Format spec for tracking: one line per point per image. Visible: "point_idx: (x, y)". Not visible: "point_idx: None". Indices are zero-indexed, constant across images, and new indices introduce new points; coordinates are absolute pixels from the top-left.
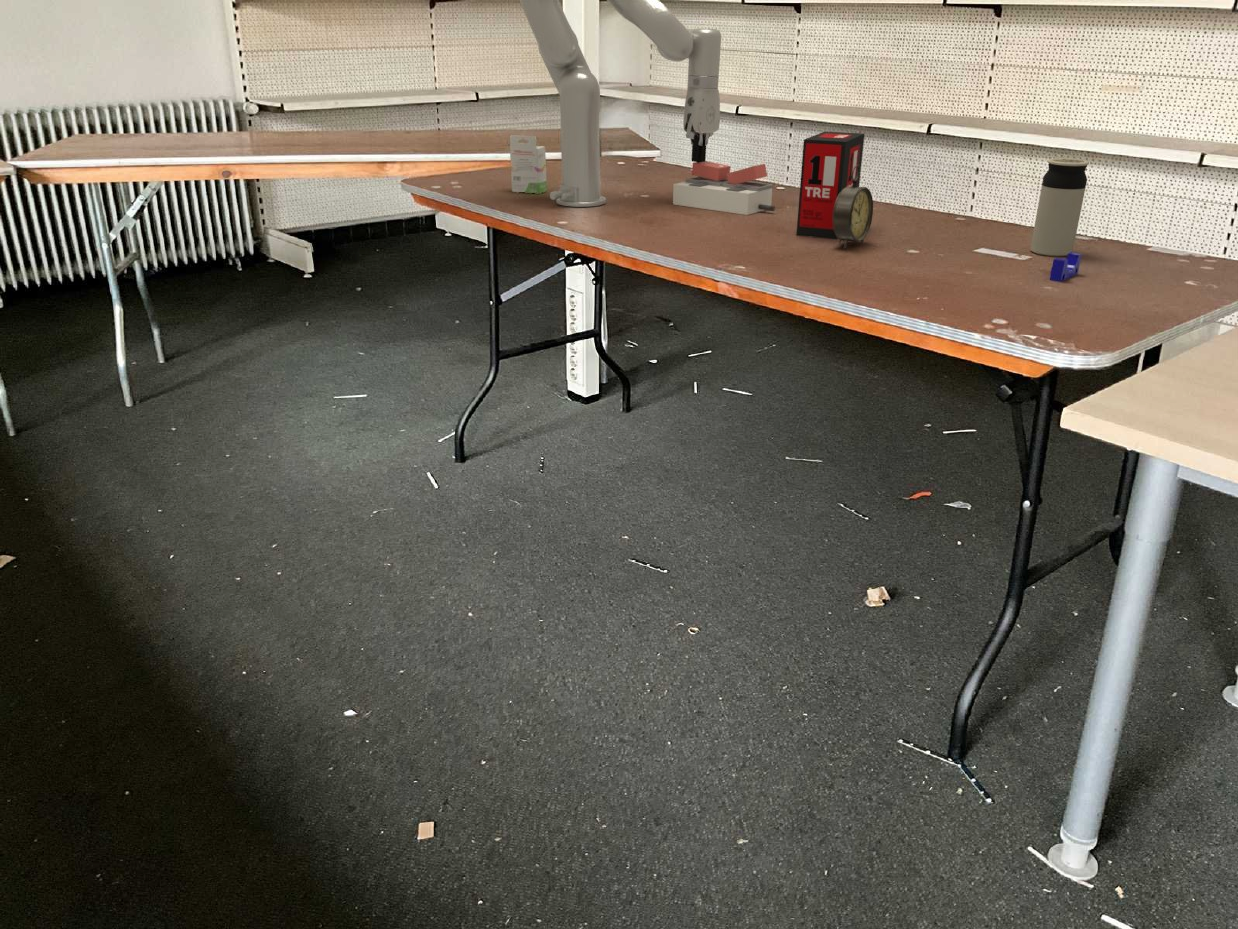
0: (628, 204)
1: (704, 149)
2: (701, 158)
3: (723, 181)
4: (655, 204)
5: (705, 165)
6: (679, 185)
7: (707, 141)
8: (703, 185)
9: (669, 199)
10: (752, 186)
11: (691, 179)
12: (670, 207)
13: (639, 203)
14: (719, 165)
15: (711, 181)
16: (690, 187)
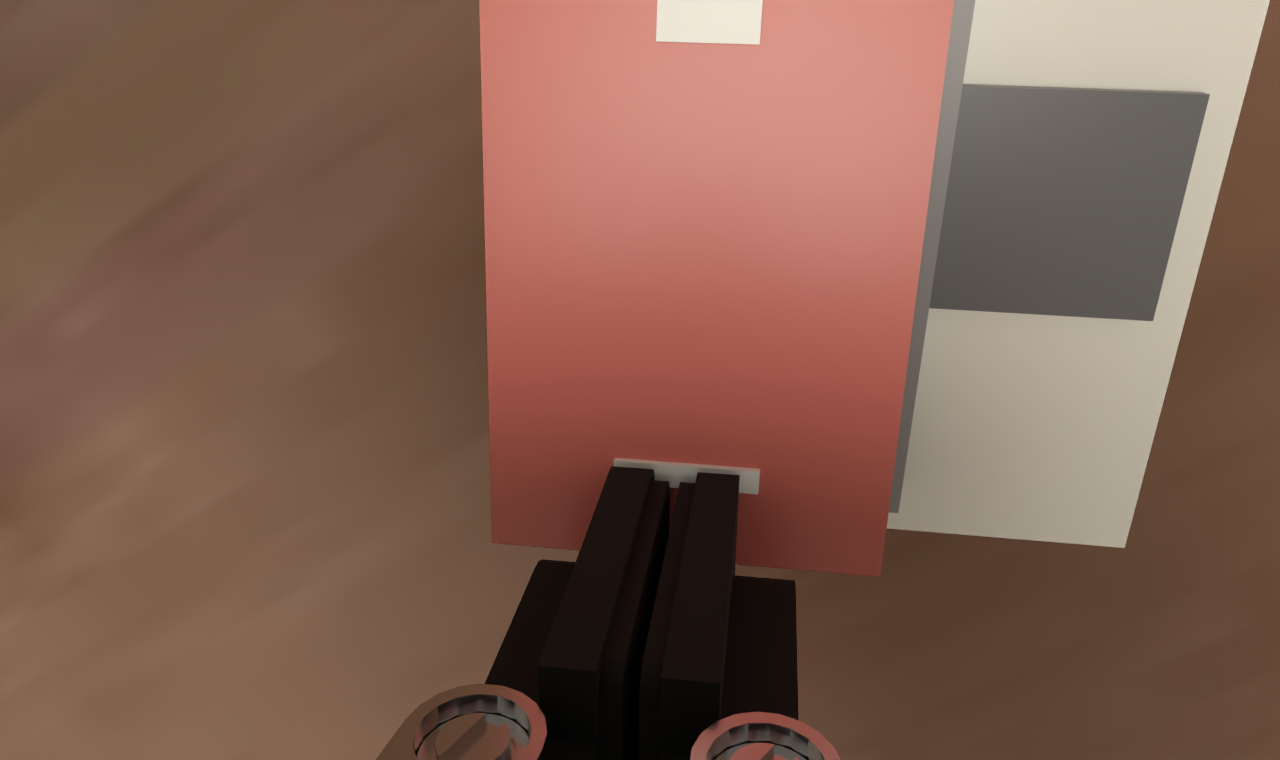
0: (1275, 751)
1: (618, 613)
2: (735, 516)
3: None
4: (1144, 561)
5: (915, 278)
6: (1145, 449)
7: (412, 749)
8: (1105, 89)
9: (796, 584)
10: None
11: None
12: (1246, 353)
13: (1169, 700)
14: (652, 70)
15: None
16: (1195, 254)
